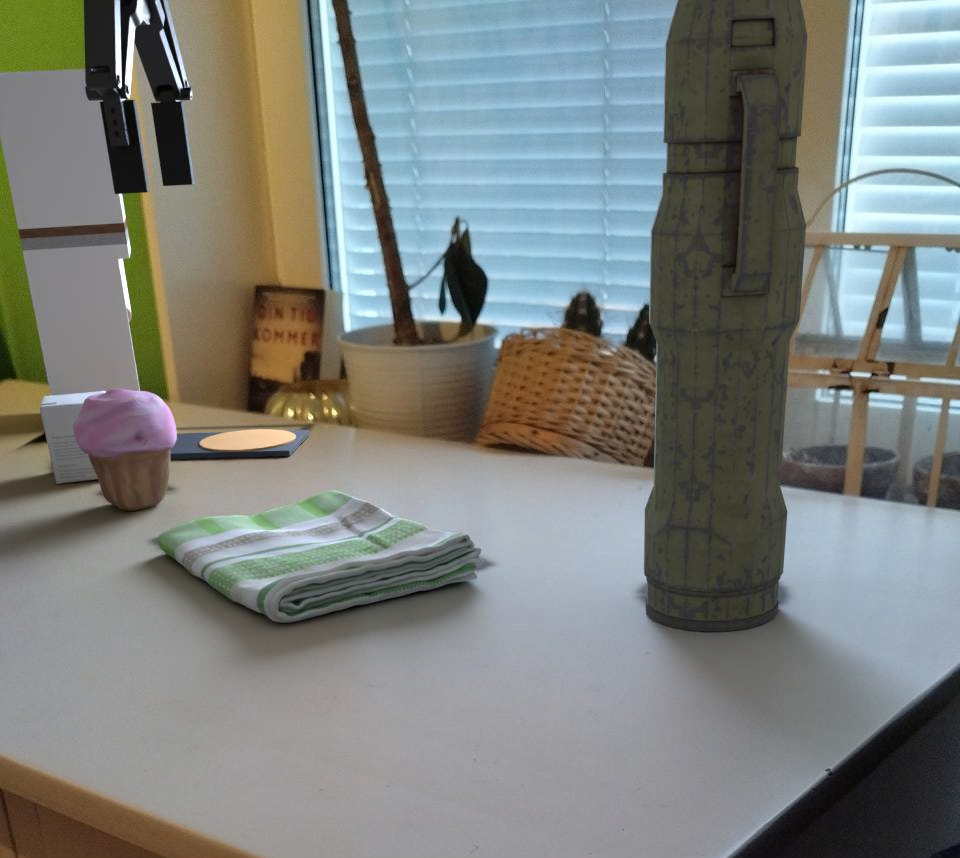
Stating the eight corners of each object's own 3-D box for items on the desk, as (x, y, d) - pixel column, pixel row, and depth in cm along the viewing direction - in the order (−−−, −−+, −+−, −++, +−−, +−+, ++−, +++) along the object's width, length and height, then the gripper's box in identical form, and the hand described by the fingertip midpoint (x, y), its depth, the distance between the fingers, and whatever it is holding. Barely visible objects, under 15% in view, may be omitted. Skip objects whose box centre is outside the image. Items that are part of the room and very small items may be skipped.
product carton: (120, 465, 133) (106, 389, 129) (118, 479, 128) (104, 400, 124) (58, 471, 132) (43, 394, 128) (54, 484, 127) (38, 405, 123)
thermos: (681, 647, 81) (703, -37, 64) (618, 591, 91) (622, -13, 74) (814, 629, 82) (870, -42, 65) (737, 576, 93) (768, -17, 76)
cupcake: (74, 504, 119) (52, 389, 115) (163, 487, 124) (145, 376, 119) (110, 523, 113) (89, 402, 108) (203, 504, 117) (186, 387, 112)
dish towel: (270, 632, 87) (263, 579, 85) (151, 554, 104) (143, 510, 102) (490, 580, 94) (488, 531, 92) (345, 516, 112) (341, 474, 110)
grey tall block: (157, 431, 147) (99, 68, 130) (59, 440, 145) (-13, 72, 128) (156, 413, 157) (102, 72, 140) (65, 421, 155) (-1, 77, 138)
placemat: (61, 462, 135) (59, 454, 135) (94, 441, 144) (93, 433, 144) (289, 456, 133) (289, 448, 133) (309, 435, 142) (308, 427, 141)
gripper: (105, -149, 91) (157, 194, 101) (200, -98, 113) (234, 180, 123) (1, -141, 92) (62, 199, 102) (115, -92, 113) (156, 184, 124)
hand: (157, 189), depth 112 cm, fingers open, 13 cm apart
